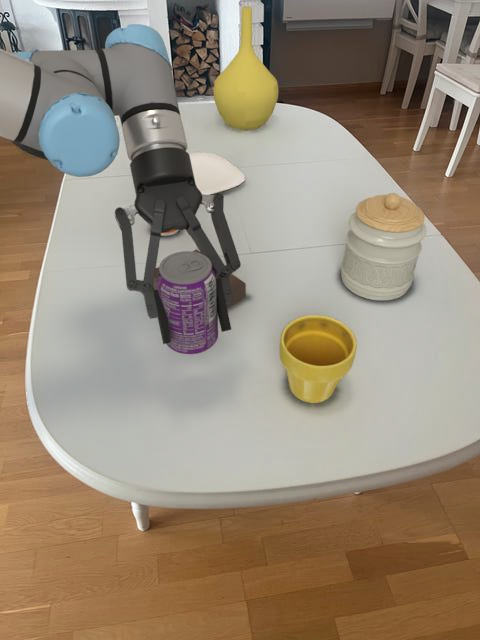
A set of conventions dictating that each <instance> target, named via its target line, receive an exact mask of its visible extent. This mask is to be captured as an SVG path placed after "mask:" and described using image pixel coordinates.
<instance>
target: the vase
mask: <svg viewBox="0 0 480 640" xmlns="http://www.w3.org/2000/svg"><path fill="white" fill-rule="evenodd" d="M240 18H241V19H240V21H241V22H240V45H239V49H238V51H237V53H236V54H235V55H234V57H233V58H232V60H230V62H229V64H227V66H226V67H225V68H224V69H223V71H222V72H220V74H219V75H218V76H217V77H216V78H215V80H214V83H213V92H212V93H213V99H214V103H215V106H216V108H217V112H218V114H219V116H220V117H221V119H222V120H223V122H225V124H227V125H228V126H229V127H230V128H232V129H233V130H239V131H253V130H258V129H260V128H261V127H262V126H264V125H265V124H266V123H267V122H268V121H269V119H270V118H271V116H272V115H273V114H274V111H275V108H276V105H277V102H278V99H279V84H278V80H277V79H276V77H275V76H274V75H273V74H272V73H271V72H270V70H269V69H268V68H267V67H266V65H264V63H263V62H262V60H261V59H260V58H259V56H258V55H257V54H256V52H255V50H254V46H253V7H251V6H242V7H241V17H240Z"/></svg>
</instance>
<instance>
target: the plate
mask: <svg viewBox="0 0 480 640" xmlns="http://www.w3.org/2000/svg"><path fill="white" fill-rule="evenodd" d="M188 154H189V156H190V160H191V165H192V170H193V174H194V179H195V183H196V186H197V188H198V189H199V190H200V192H201V193H202V194H203V195H215V194H216V193H222V192H223V193H224V192H227V191H229V190H232V189H235V188H237V187H239V186H241V185H242V184H243V183H244V182H245V181H246V178H245V174H244V173H243V171H241V170H240V169H239V168H237V167H236V166H235V165H234V164H233V163H231V162H229V161H228V160H227V159H226V158H224V157H222V156H220V155H218V154H217V153H213V152H208V151H202V152H201V151H198V152H191V153H188Z"/></svg>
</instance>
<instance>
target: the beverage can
mask: <svg viewBox="0 0 480 640" xmlns="http://www.w3.org/2000/svg"><path fill="white" fill-rule="evenodd" d="M192 251H193V250H192ZM192 251H190V250H184V251H178V252H174V253H171V254H169V255H167V256H166V257H164V258H163V259H162V260H161V261H160V263H159V265H158V267H159V271H160V272H159V274H158V277H157V286H158V292H159V296H160V299H161V301H162V304H163V306H164V311H165V316H166V321H167V325H168V330H169V335H170V340H171V342H170V343H167V344H166V346H167V347H168V348H169V349H171V350H172V351H173V352H176V353H178V354H182V355H196V354H201V353H204V352H206V351H208V350H209V349H211V348H212V347H213V346H214V345H215V344H216V343H217V341H218V338H219V317H218V313H217V291H216V275H215V272H214V271H213V269H212V265H211V261H210V260H209V259H208V258H207V257H206V256H205V255H203V254H201V253H197V252H192Z"/></svg>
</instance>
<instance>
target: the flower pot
mask: <svg viewBox="0 0 480 640" xmlns="http://www.w3.org/2000/svg"><path fill="white" fill-rule="evenodd" d="M357 347H358V343H357V338H356V335H355V334H354V332H353V331H352V330H351V329H350V327H349V326H347V325H346V324H345V323H343V322H342V321H340V320H338V319H336V318H333V317H330V316H326V315H321V314H320V315H319V314H310V315H304V316H303V315H302V316H300V317H297V318H295V319H293V320H291V321H290V322H289V323H288V324H287V325H285V327H284V328H283V329H282V331H281V334H280V339H279V359H280V363H281V364H282V366H283V367H284V368H285V371H286V376H287V381H288V386H289V390H290V392H291V393H292V394H293V396H295V398H297V399H298V400H300V401H302V402H304V403H305V402H306V403H310V404H319V403H323V402H325V401H326V400H328V399H329V398H330V397H331V396H332V395H333V394H334V391H335V390H336V388H337V386H338V385H339V383H340V381H341V379H342V378H343V377H345V376H346V375H348V373H349V372H350V370H351V369H352V366H353V364H354V361H355V358H356V352H357Z"/></svg>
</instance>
